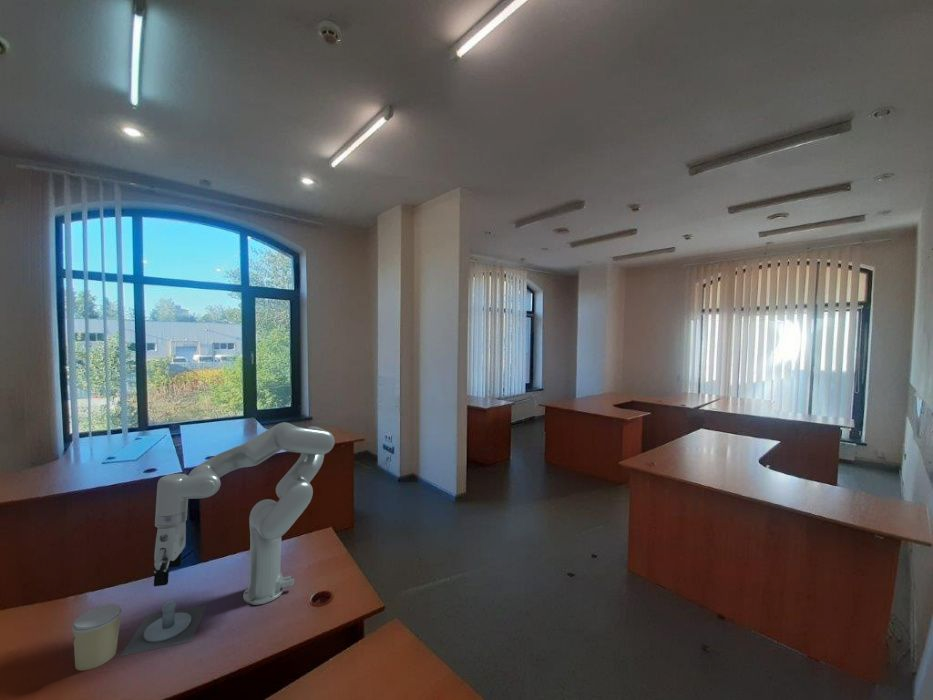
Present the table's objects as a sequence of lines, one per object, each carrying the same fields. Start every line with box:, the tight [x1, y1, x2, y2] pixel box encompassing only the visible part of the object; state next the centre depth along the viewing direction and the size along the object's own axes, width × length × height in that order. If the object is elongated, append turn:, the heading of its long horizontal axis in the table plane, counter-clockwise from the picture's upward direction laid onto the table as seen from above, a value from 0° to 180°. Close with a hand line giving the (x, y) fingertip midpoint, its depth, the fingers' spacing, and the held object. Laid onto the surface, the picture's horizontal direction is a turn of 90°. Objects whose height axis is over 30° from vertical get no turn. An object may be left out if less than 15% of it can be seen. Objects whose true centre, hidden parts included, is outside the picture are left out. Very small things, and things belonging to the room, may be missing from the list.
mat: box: [119, 604, 209, 657], centre depth 110 cm, size 16×16×1 cm
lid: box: [144, 600, 191, 643], centre depth 110 cm, size 11×11×8 cm
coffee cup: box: [71, 603, 123, 671], centre depth 99 cm, size 9×9×12 cm
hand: (167, 575), depth 110 cm, fingers open, 9 cm apart
